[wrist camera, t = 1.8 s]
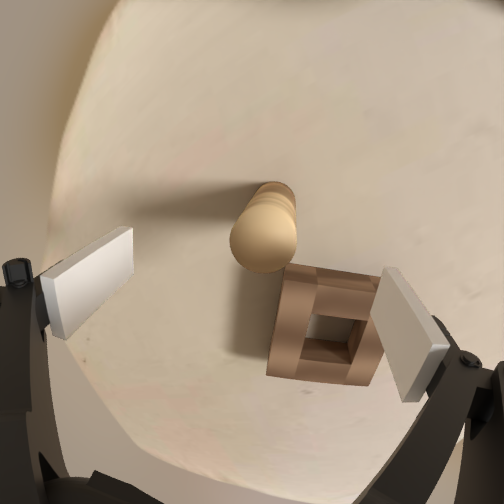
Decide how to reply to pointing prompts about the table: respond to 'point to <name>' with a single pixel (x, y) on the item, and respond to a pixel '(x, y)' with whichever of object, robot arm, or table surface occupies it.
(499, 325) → the table surface
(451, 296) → the table surface
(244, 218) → the oak peg
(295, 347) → the walnut socket
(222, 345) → the table surface
